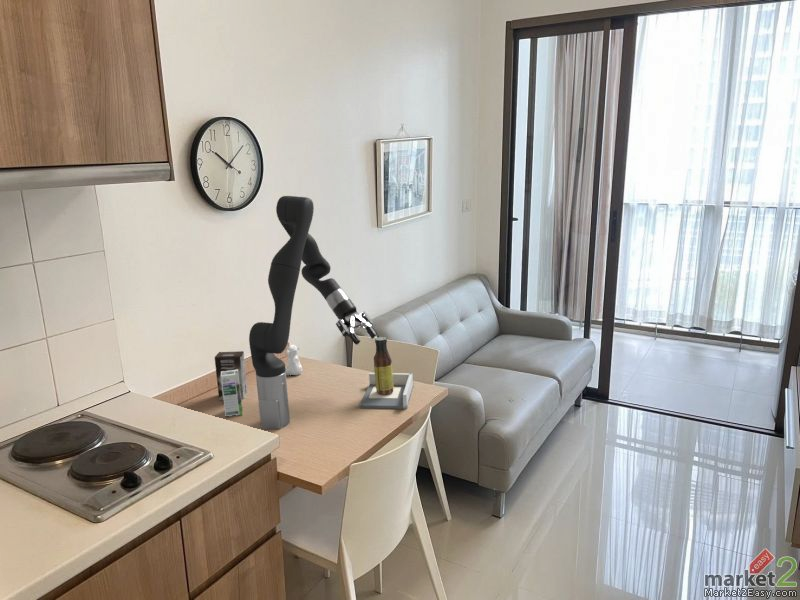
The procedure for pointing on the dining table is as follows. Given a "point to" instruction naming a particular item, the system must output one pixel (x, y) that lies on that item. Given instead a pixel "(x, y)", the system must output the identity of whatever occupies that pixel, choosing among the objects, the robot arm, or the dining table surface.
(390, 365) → the sauce bottle
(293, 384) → the dining table surface
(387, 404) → the grey tray
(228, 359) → the coffee box
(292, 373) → the sitting furry creature
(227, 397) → the syrup box
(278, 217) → the robot arm
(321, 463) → the dining table surface
